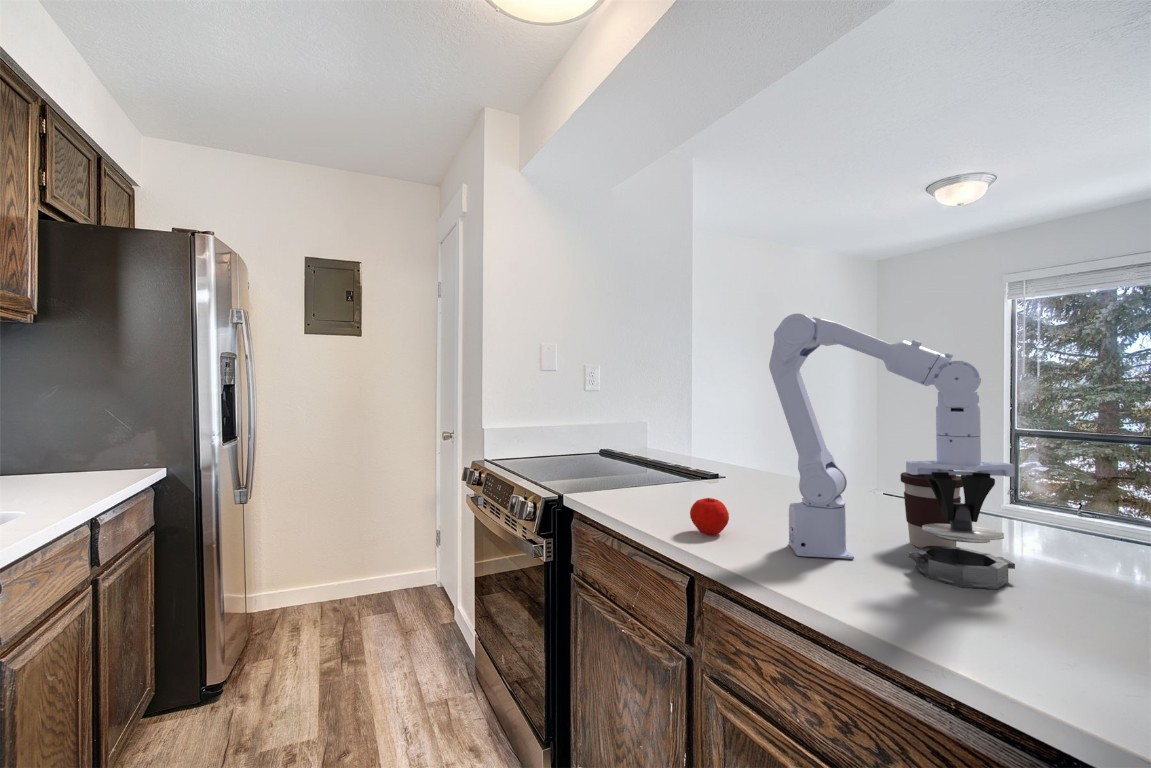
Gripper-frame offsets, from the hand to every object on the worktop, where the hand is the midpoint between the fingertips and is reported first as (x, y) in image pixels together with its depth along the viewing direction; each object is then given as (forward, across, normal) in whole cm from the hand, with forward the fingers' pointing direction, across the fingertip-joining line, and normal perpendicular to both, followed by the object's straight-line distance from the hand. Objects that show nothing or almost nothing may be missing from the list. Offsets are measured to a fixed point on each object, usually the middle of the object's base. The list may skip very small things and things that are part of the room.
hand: (959, 520), depth 82 cm
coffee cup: (+9, +3, +16) cm, 19 cm away
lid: (+3, 0, -1) cm, 3 cm away
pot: (+9, 0, 0) cm, 9 cm away
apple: (+9, -38, +18) cm, 43 cm away
